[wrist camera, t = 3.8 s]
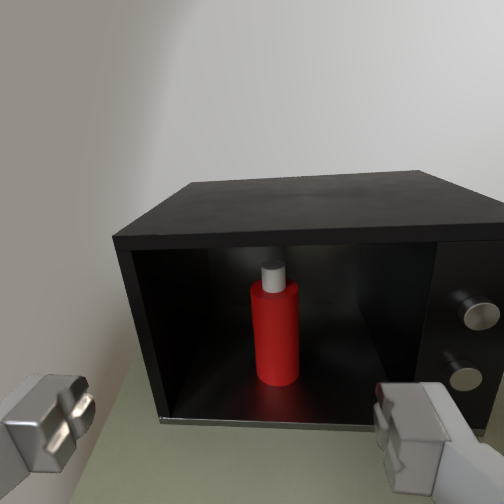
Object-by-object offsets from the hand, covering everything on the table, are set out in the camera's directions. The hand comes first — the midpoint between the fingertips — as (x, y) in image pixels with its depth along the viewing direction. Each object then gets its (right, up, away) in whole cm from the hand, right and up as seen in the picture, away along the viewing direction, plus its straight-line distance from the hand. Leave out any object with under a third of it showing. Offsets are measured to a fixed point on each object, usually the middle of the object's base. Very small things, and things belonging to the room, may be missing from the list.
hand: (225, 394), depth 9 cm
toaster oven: (+9, -11, +39) cm, 41 cm away
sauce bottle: (+4, -12, +34) cm, 36 cm away
